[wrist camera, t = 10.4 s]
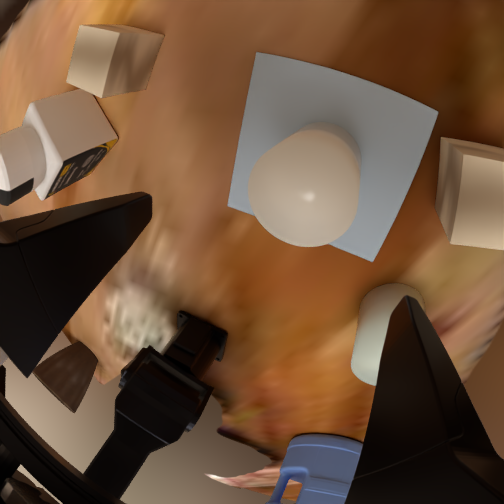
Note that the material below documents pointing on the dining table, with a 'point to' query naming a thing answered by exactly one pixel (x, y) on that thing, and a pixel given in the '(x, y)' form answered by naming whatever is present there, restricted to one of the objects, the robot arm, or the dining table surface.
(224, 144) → the dining table surface
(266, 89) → the felt mat
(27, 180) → the medicine bottle
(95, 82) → the beech block
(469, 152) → the beech block
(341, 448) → the water jug
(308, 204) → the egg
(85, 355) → the plant pot
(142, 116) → the dining table surface
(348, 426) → the dining table surface
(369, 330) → the pale curved piece
